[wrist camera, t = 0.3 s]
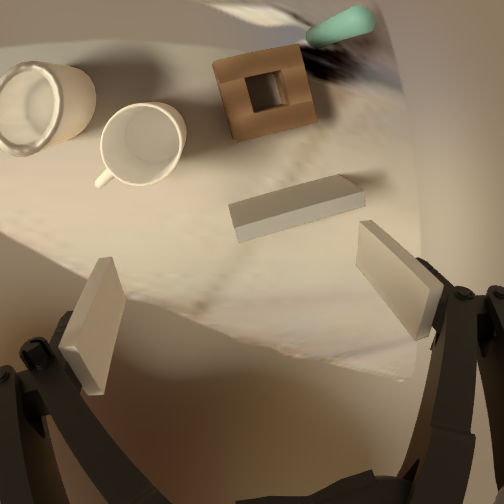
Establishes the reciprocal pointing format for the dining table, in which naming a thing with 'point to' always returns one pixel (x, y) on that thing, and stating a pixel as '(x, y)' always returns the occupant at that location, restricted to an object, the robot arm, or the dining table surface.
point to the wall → (294, 206)
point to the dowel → (342, 27)
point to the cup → (142, 144)
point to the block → (289, 85)
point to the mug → (43, 106)
